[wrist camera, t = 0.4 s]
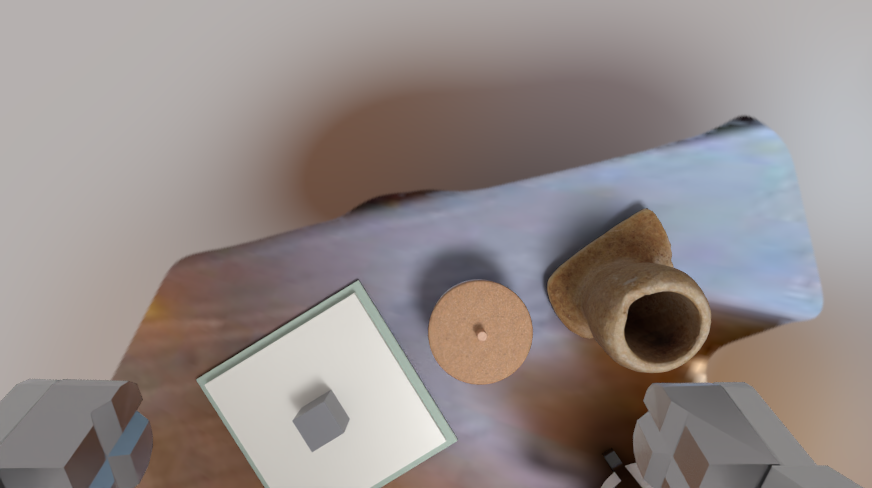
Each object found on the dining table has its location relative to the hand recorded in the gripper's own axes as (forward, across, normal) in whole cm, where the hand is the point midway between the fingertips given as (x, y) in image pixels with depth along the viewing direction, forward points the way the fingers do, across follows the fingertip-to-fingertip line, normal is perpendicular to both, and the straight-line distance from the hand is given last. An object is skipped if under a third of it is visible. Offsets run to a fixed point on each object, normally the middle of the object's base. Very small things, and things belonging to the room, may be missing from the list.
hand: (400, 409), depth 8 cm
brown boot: (+44, +24, -25) cm, 56 cm away
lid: (+38, -8, -40) cm, 55 cm away
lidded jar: (+43, +8, -30) cm, 53 cm away
